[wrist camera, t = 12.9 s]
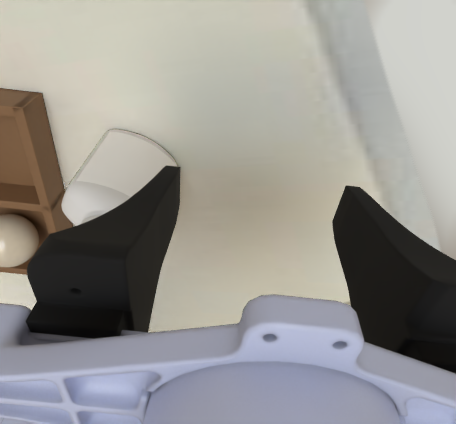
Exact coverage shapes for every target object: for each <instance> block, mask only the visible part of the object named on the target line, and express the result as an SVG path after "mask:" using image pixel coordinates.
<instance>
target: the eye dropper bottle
mask: <svg viewBox="0 0 456 424" xmlns="http://www.w3.org/2000/svg"><path fill="white" fill-rule="evenodd" d="M166 165H167V166H176V167H177V164H176V162H175V160H174V159H173V157H172V156H171V155H170V154H169V153H168V152H167V151H166V150H164V149H163V148H162V147H161V146H159V145H158V144H157V143H155V142H153V141H152V140H150V139H148V138H146V137H144V136H142V135H139V134H136V133H133V132H129V131H125V130H119V129H112V130H108V131H107V132H106V133H105V134H104V135H103V137H102V138H101V140H100V141H99V142H98V144H97V145H96V146H95V148H94V149H93V151H92V152H91V153H90V155H89V156H88V158H87V159H86V160H85V162H84V163H83V165H82V166H81V167H80V169H79V170H78V172H77V173H76V175H75V176H74V177H73V179H72V180H71V182H70V183H69V185H68V187H67V189H66V191H65V194H64V197H63V200H62V204H61V206H62V211H63V212H64V214H65V216H66V217H67V218H68V219H69V220H70V221H71V222H72V223H73V224H74V225H75V226H77V225H80V224H82V223H85V222H88V221H90V220H92V219H95V218H97V217H99V216H101V215H103V214H105V213H107V212H109V211H110V210H112V209H114V208H116V207H117V206H119V205H121V204H122V203H124V202H125V201H127V200H128V199H129V198H131V197H132V196H133V195H134V194H136V193H137V192H138V191H139V190H141V189H142V188H143V187H144V186H145V185H146V184H147V183H148V182H149V181H151V180H152V179H153V178H154V177H155V176H156V175H157V174H158V173H159V172H160V171H161V169H162V168H163V167H165V166H166Z"/></svg>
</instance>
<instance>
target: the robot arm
mask: <svg viewBox="0 0 456 424" xmlns="http://www.w3.org/2000/svg"><path fill="white" fill-rule="evenodd" d="M179 205H180V167H176V166H167V165H166V166H165V167H163V168H162V169H161V171H160V172H159V173H158V174H157V175H156V176H155V177H154V178H153V179H152V180H151V181H149V182H148V183H147V184H146V185H145V186H144V187H143V188H142V189H141V190H139V191H138V192H137V193H136V194H134V195H133V196H132V197H131V198H129V199H128V200H127V201H125V202H124V203H122V204H121V205H119V206H117V207H116V208H114V209H112V210H110V211H109V212H107V213H105V214H103V215H101V216H99V217H97V218H95V219H92V220H90V221H88V222H85V223H82V224H80V225H77V226H74V227H71V228H68V229H65V230H61V231H58V232H55V233H51V234H49V236H48V237H47V238H46V239H45V240H44V242H43V243H42V244H41V246H40V247H39V249H38V250H37V252H36V253H35V255H34V256H33V258H32V259H31V261H30V262H29V264H28V267H27V275H28V279H29V282H30V284H31V287H32V289H33V292H34V295H35V297H36V300H37V303H36V304H35V306H34V308H33V309H32V311H31V310H30V309H29V308H27V307H25V306H21V305H13V304H3V303H0V424H456V260H454V259H452V258H450V257H449V256H447V255H445V254H443V253H442V252H440V251H438V250H437V249H435V248H433V247H432V246H430V245H429V244H427V243H426V242H424V241H423V240H421V239H420V238H418V237H417V236H416V235H414V234H413V233H412V232H410V231H409V230H408V229H406V228H405V227H404V226H403V225H401V224H400V223H399V222H398V221H397V220H395V219H394V218H393V217H392V216H391V215H390V214H389V213H388V212H386V211H385V210H384V209H383V208H382V207H381V206H380V205H379V204H378V203H377V202H376V201H375V200H374V199H373V198H372V197H371V196H369V195H368V194H367V193H366V192H365V191H364V190H363V189H361V188H360V187H354V186H346V187H345V189H344V192H343V195H342V197H341V200H340V203H339V205H338V208H337V211H336V213H335V216H334V219H333V221H332V223H333V232H334V239H335V244H336V247H337V251H338V255H339V258H340V261H341V265H342V268H343V272H344V275H345V279H346V282H347V286H348V290H349V296H350V302H351V306H350V305H348V304H344V303H341V302H338V301H332V300H323V299H313V298H303V297H294V296H284V295H275V294H274V295H261V296H259V297H257V298H254V299H252V300H250V301H249V302H248V303H247V305H246V306H245V308H244V309H243V313H242V318H241V320H240V322H239V323H238V324H229V325H219V326H210V327H200V328H191V329H181V330H172V331H162V332H153V333H148V329H149V323H150V318H151V313H152V308H153V303H154V298H155V293H156V289H157V284H158V279H159V275H160V270H161V267H162V263H163V260H164V257H165V254H166V252H167V249H168V246H169V243H170V240H171V237H172V234H173V231H174V228H175V225H176V221H177V216H178V210H179Z"/></svg>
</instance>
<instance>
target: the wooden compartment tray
mask: <svg viewBox="0 0 456 424" xmlns="http://www.w3.org/2000/svg"><path fill="white" fill-rule="evenodd" d="M64 194H65V191H64V187H63V182H62V178H61V174H60V169H59V165H58V161H57V157H56V152H55V148H54V144H53V139H52V135H51V131H50V126H49V122H48V118H47V113H46V109H45V105H44V100H43V96H42V93H36V92H28V91H19V90H11V89H2V88H0V215H2V214H16V215H20V216H23V217H25V218H27V219H28V220H30V221H31V222H32V223H33V224H34V225H35V227H36V229H37V230H38V233H39V246H38V249H39V247H40V246H41V244H42V243H43V242H44V240H45V239H46V238H47V237H48V236H49V234H51V233H55V232H58V231H61V230H65V229H68V228H71V227H73V226H72V222H71V221H70V220H69V219H68V218H67V217H66V216H65V214H64V212H63V211H62V206H61V204H62V200H63V197H64ZM38 249H37V250H38ZM36 252H37V251H36ZM36 252H35V253H36ZM34 255H35V254H34ZM34 255H33V256H34ZM33 256H32V257H31V258H30V259H29V260H28V261H27V262H25V263H23V264H21V265H18V266H15V267H0V272H7V273H17V274H26V275H27V267H28V264H29V262H30V261H31V259H32V258H33Z"/></svg>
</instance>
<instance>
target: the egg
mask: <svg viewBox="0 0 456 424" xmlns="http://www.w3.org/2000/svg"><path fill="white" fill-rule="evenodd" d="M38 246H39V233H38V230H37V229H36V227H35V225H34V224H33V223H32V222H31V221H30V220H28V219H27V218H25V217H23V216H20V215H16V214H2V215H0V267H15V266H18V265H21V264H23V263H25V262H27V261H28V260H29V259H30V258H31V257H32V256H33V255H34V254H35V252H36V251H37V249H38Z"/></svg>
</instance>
